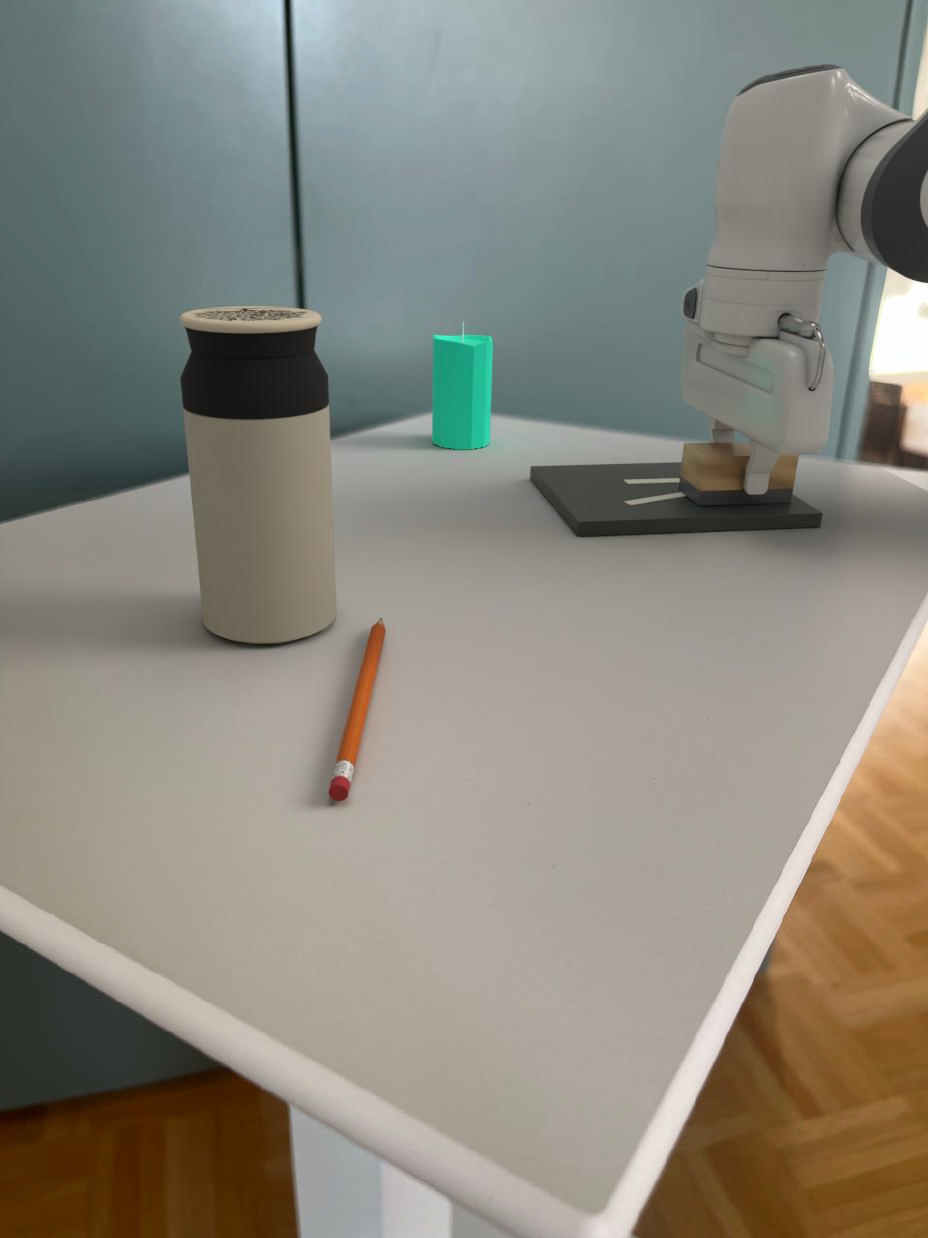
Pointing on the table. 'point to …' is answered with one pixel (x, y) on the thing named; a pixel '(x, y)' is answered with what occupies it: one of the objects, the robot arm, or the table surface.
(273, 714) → the table surface
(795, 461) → the eraser
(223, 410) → the travel mug
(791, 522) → the slate board
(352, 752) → the pencil
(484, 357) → the candle
